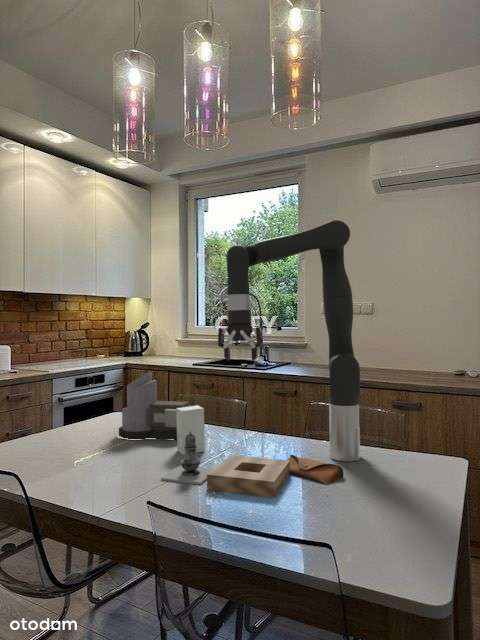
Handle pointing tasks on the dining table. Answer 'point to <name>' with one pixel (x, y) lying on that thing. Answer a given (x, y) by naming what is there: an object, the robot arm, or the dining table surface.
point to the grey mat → (178, 477)
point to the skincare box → (190, 427)
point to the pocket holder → (249, 476)
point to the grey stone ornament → (190, 457)
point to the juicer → (148, 412)
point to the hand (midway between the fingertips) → (240, 360)
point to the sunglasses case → (314, 470)
